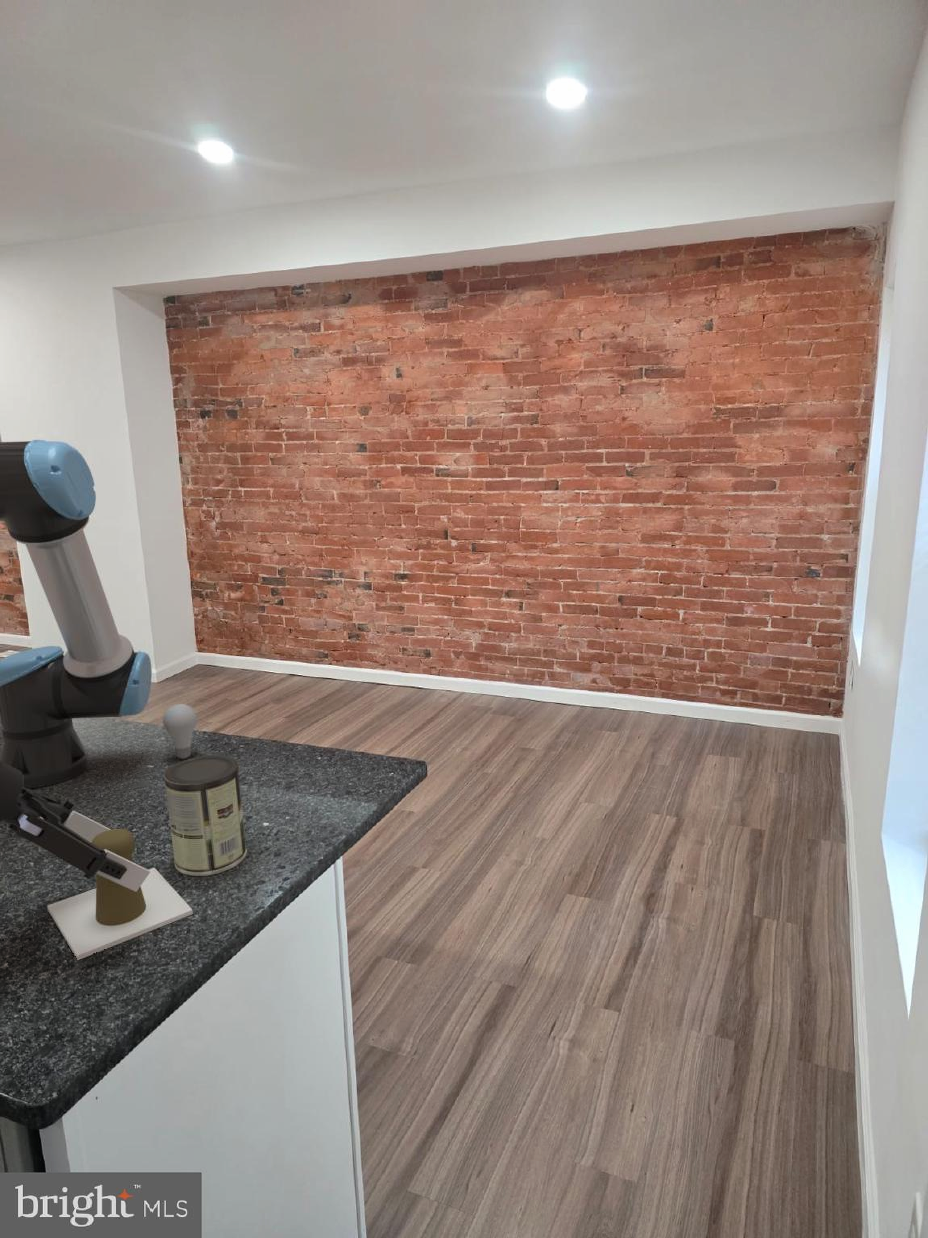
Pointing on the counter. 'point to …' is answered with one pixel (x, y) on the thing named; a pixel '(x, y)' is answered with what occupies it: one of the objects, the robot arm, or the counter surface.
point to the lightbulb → (180, 727)
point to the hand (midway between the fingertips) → (124, 859)
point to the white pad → (94, 937)
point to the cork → (110, 896)
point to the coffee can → (205, 814)
